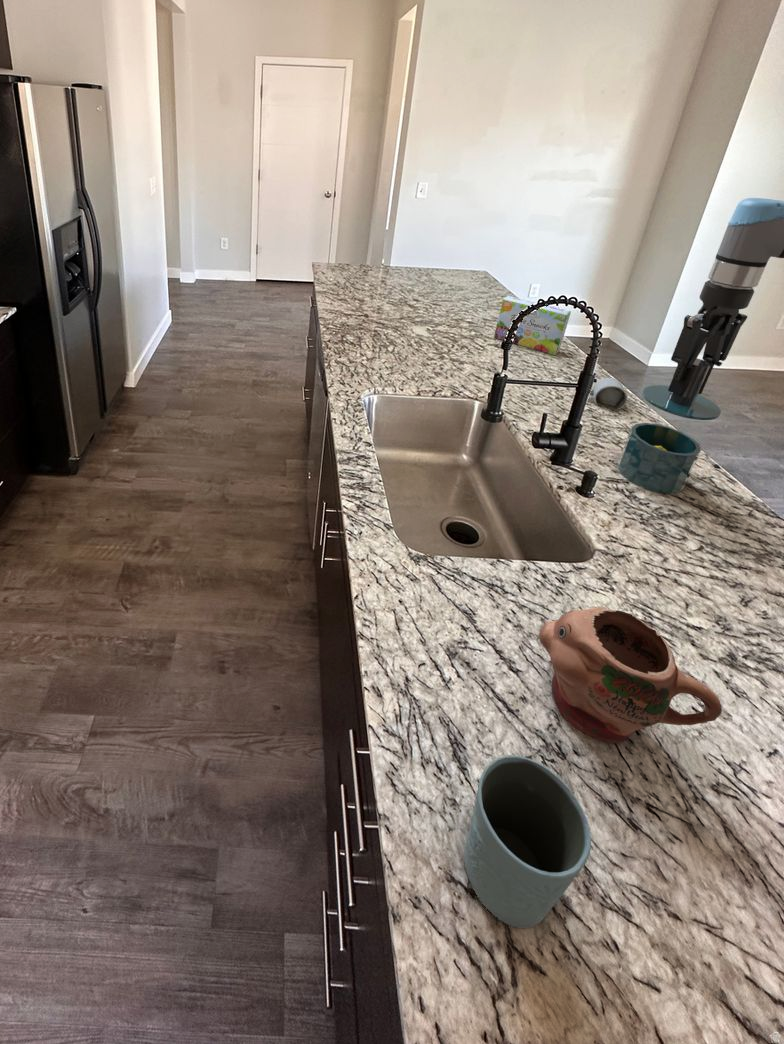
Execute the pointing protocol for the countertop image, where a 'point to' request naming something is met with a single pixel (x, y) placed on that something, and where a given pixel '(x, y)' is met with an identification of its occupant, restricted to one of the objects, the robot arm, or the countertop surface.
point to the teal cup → (524, 840)
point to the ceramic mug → (609, 393)
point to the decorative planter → (617, 675)
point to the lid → (685, 397)
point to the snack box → (533, 325)
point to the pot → (658, 458)
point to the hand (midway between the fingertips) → (684, 391)
